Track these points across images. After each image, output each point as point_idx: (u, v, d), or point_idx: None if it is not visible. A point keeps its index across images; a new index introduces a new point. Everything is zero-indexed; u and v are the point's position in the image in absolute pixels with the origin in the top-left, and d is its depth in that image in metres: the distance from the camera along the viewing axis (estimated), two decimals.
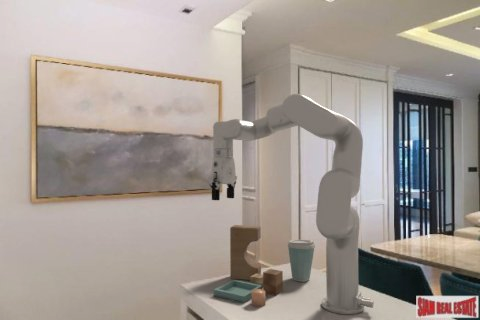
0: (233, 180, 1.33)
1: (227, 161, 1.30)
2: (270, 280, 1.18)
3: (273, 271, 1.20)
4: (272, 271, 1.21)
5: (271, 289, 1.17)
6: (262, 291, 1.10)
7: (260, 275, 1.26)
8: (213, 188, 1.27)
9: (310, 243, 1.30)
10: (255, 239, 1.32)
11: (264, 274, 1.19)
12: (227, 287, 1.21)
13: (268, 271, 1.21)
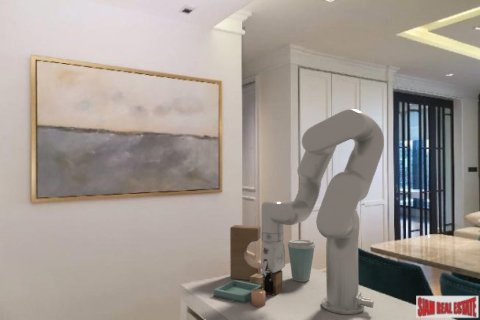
0: (283, 265, 1.21)
1: (278, 246, 1.18)
2: None
3: None
4: None
5: None
6: (262, 291, 1.10)
7: (260, 275, 1.26)
8: (267, 280, 1.17)
9: (310, 243, 1.30)
10: (255, 239, 1.32)
11: None
12: (227, 287, 1.21)
13: (267, 270, 1.21)
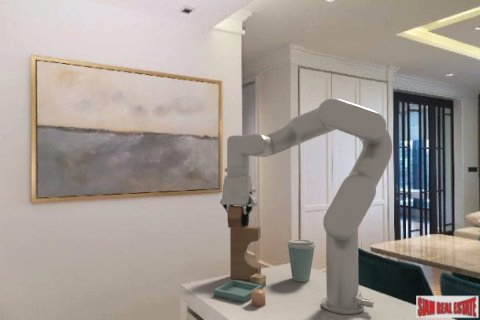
0: (240, 202, 1.15)
1: (231, 180, 1.17)
2: None
3: (239, 206, 1.19)
4: (239, 206, 1.19)
5: None
6: (262, 291, 1.10)
7: (260, 275, 1.26)
8: None
9: (310, 243, 1.30)
10: (255, 239, 1.32)
11: None
12: (227, 287, 1.21)
13: None
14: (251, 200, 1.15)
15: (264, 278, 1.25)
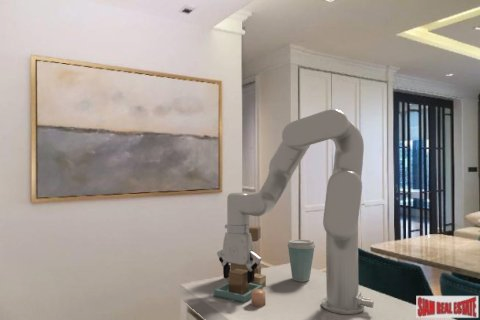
0: (241, 261, 1.14)
1: (231, 238, 1.17)
2: None
3: (239, 271, 1.18)
4: (240, 271, 1.18)
5: None
6: (262, 291, 1.10)
7: (260, 275, 1.26)
8: None
9: (310, 243, 1.30)
10: (255, 239, 1.32)
11: None
12: (227, 287, 1.21)
13: (240, 270, 1.20)
14: (254, 256, 1.14)
15: (264, 278, 1.25)
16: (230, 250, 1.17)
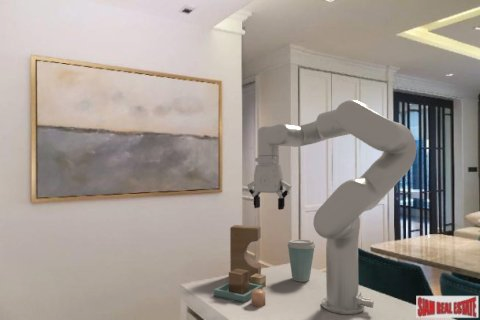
0: (272, 189, 1.21)
1: (262, 168, 1.23)
2: None
3: (239, 271, 1.18)
4: (240, 271, 1.18)
5: None
6: (262, 291, 1.10)
7: (260, 275, 1.26)
8: None
9: (310, 243, 1.30)
10: (255, 239, 1.32)
11: None
12: (227, 287, 1.21)
13: (240, 270, 1.20)
14: (284, 184, 1.21)
15: (264, 278, 1.25)
16: (261, 180, 1.23)
